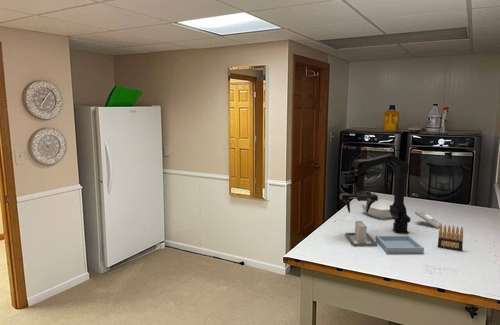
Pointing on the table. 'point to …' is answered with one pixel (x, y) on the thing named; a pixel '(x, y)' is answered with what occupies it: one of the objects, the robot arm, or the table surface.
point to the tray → (399, 245)
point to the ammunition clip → (451, 238)
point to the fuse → (360, 231)
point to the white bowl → (379, 209)
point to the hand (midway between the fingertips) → (358, 212)
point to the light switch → (428, 218)
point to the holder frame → (360, 243)
